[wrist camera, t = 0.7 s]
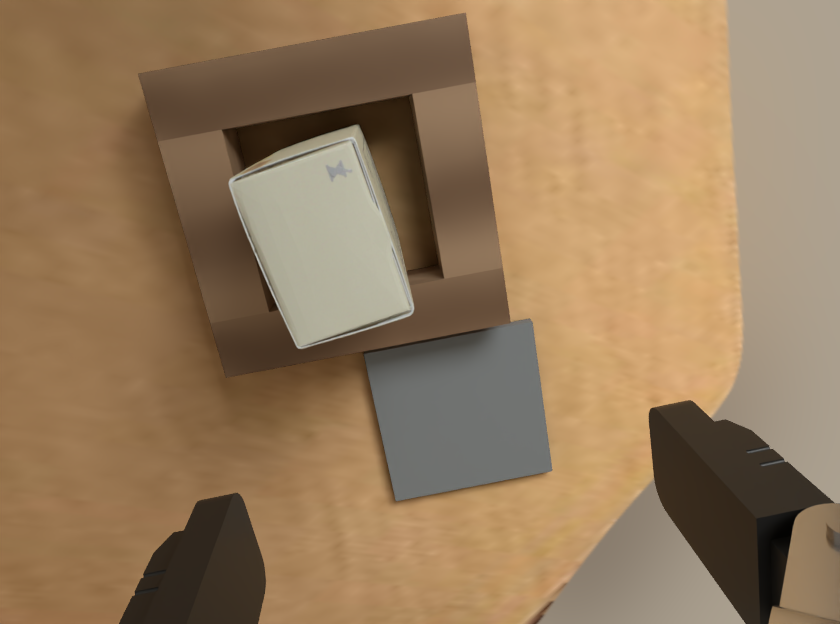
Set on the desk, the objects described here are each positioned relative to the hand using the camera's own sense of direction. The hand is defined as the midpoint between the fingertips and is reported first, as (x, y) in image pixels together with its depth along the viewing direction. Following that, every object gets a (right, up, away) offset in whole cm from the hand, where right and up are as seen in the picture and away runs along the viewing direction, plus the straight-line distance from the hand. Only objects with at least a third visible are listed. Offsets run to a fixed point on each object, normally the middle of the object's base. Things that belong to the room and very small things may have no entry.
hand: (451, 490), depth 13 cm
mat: (+2, -2, +23) cm, 24 cm away
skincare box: (-4, +9, +20) cm, 22 cm away
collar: (-4, +9, +20) cm, 22 cm away
